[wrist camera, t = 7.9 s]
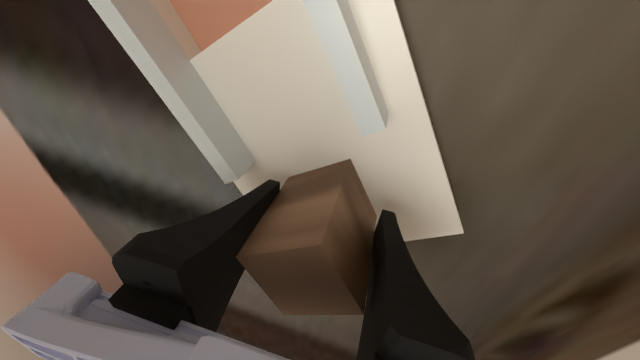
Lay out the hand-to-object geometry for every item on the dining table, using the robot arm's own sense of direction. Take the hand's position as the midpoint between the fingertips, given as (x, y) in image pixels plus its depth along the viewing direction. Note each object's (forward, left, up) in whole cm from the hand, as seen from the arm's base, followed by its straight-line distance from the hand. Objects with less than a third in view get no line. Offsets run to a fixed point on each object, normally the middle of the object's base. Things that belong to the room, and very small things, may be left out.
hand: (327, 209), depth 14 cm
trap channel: (-6, 0, -3) cm, 7 cm away
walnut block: (0, 0, -1) cm, 1 cm away
